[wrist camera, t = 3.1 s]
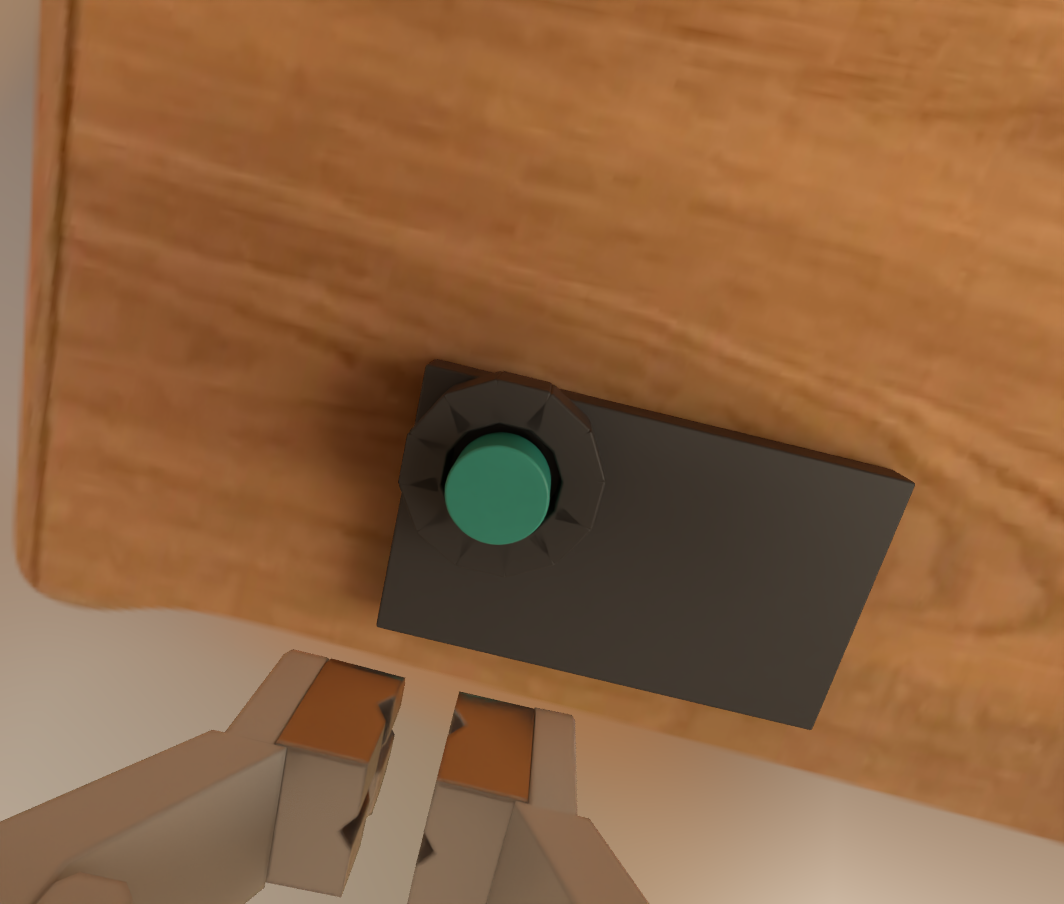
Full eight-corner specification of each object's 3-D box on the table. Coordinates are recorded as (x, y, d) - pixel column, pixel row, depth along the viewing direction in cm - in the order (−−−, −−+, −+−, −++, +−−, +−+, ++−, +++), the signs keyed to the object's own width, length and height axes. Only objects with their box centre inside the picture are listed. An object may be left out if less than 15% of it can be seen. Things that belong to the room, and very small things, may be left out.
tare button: (445, 512, 19) (434, 532, 17) (464, 421, 18) (455, 434, 17) (538, 534, 19) (536, 556, 17) (561, 444, 18) (561, 459, 17)
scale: (386, 606, 23) (360, 654, 20) (437, 347, 20) (415, 359, 17) (797, 704, 23) (831, 766, 20) (898, 459, 20) (953, 489, 17)
